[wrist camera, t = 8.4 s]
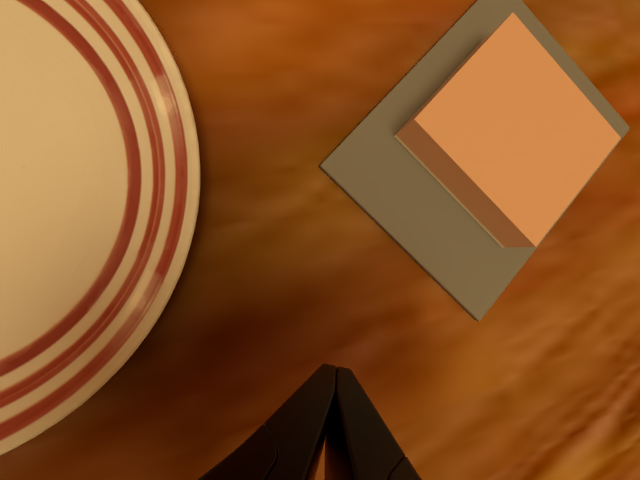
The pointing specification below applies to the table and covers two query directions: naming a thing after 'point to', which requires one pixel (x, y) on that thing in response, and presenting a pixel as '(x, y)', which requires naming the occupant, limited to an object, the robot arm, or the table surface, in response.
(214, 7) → the table surface
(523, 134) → the tile
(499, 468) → the table surface
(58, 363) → the dinner plate
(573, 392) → the table surface
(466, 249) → the mat
